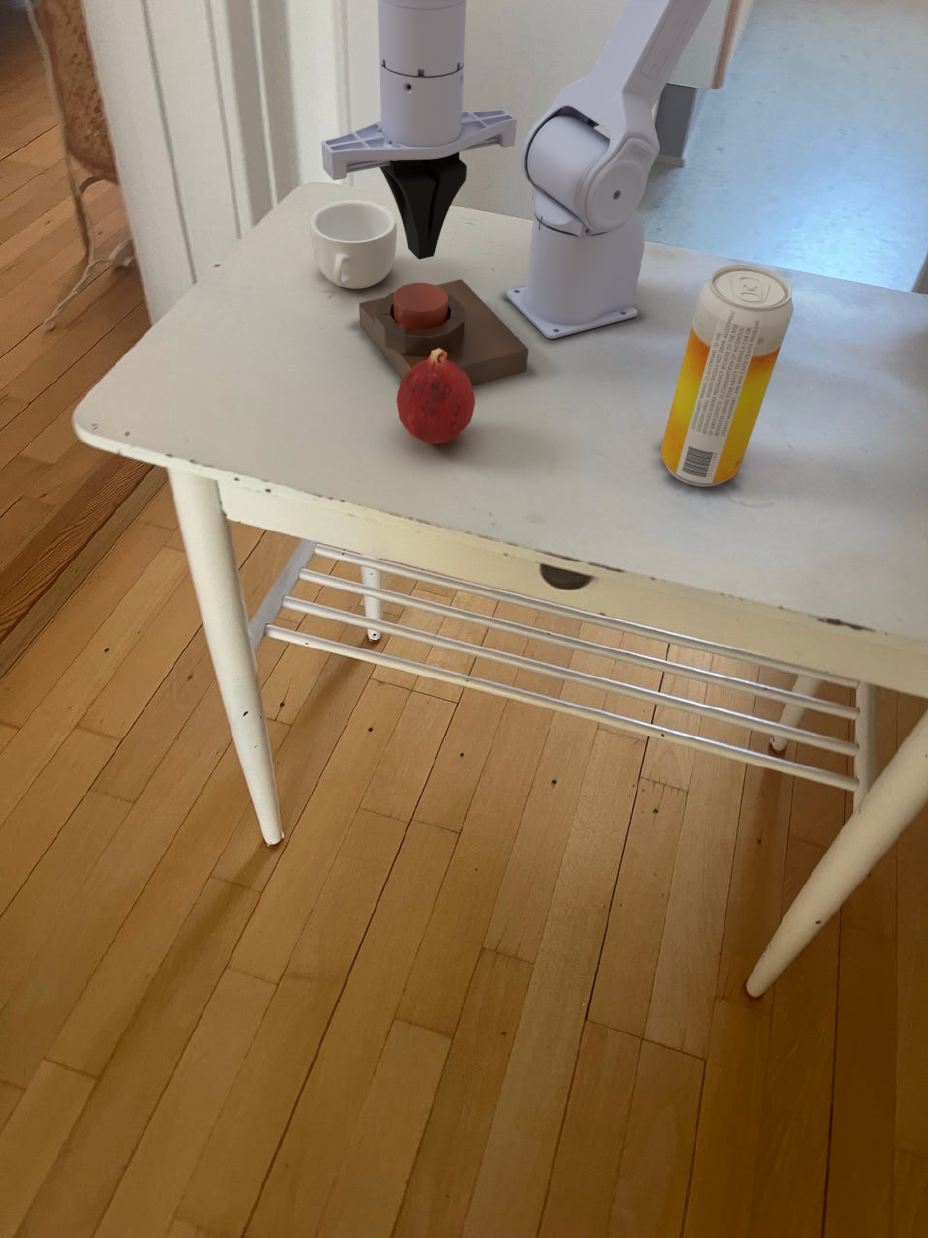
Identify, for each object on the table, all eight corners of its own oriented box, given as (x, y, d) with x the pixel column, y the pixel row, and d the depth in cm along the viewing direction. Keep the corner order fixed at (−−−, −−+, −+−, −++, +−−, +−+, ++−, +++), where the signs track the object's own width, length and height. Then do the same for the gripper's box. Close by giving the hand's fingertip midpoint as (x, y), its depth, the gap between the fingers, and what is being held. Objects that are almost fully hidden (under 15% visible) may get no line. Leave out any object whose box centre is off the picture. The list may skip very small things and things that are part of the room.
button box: (460, 300, 87) (462, 259, 84) (526, 371, 80) (530, 329, 77) (352, 327, 83) (350, 285, 80) (411, 403, 76) (411, 360, 73)
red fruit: (465, 470, 71) (470, 381, 65) (390, 460, 72) (388, 370, 66) (477, 423, 75) (483, 334, 69) (405, 413, 75) (405, 324, 69)
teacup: (326, 250, 91) (322, 195, 87) (405, 260, 91) (404, 205, 87) (297, 305, 85) (292, 248, 81) (381, 316, 84) (380, 259, 80)
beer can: (739, 447, 74) (798, 269, 63) (736, 498, 71) (798, 317, 59) (662, 434, 75) (706, 255, 64) (654, 483, 71) (700, 301, 60)
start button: (432, 296, 80) (433, 277, 79) (456, 323, 78) (457, 304, 76) (385, 308, 79) (384, 289, 77) (407, 335, 76) (407, 316, 75)
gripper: (487, 27, 69) (478, 211, 79) (298, 55, 64) (315, 246, 74) (537, 62, 65) (520, 251, 75) (339, 94, 60) (350, 290, 70)
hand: (421, 251), depth 74 cm, fingers closed
